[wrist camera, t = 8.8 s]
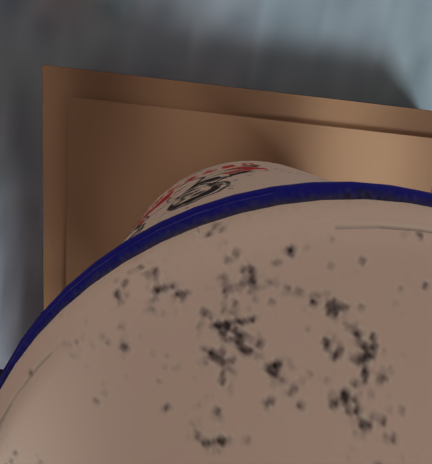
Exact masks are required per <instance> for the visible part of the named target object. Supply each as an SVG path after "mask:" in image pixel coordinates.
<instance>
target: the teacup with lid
mask: <svg viewBox="0 0 432 464" xmlns="http://www.w3.org/2000/svg"><path fill="white" fill-rule="evenodd" d="M0 464H432V193H430V192H425V191H420V190H415V189H409V188H404V187H399V186H394V185H387V184H375V183H363V182H352V181H349V182H333V181H330V180H327V179H324V178H321V177H318V176H315V175H312V174H309V173H306V172H303V171H300V170H298V169H295V168H291V167H288V166H285V165H281V164H276V163H271V162H263V161H237V162H228V163H224V164H219V165H215V166H212V167H209V168H206V169H203V170H200V171H198V172H196V173H193V174H191V175H189V176H187V177H186V178H184V179H182V180H180V181H179V182H177V183H176V184H174V185H173V186H172V187H170V188H169V189H168V190H166V191H165V192H164V193H163V194H162V195H161V196H159V197H158V199H157V200H156V201H155V202H154V203H153V204H152V205H151V206H150V207H149V208H148V210H147V211H146V212H145V214H144V215H143V216H142V218H141V219H140V220H139V221H138V223H137V224H136V225H135V227H134V228H133V229H132V230H131V232H130V233H129V234H128V236H127V237H126V238H125V240H124V241H123V242H122V243H121V244H120V245H119V246H117V247H116V248H114V249H113V250H112V251H110V252H109V253H107V254H106V255H104V256H103V257H101V258H100V259H98V260H97V261H96V262H94V263H93V264H92V265H91V266H90V267H88V268H87V269H86V270H85V271H84V272H83V273H81V274H80V275H79V276H78V277H77V278H76V279H74V280H73V281H72V282H71V283H70V284H69V285H67V286H66V287H65V288H64V290H63V291H62V292H61V293H60V294H59V295H58V296H57V297H56V298H55V299H54V300H53V301H52V302H51V303H50V304H49V305H48V306H47V308H46V309H45V310H44V311H43V312H42V313H41V314H40V316H39V317H38V318H37V320H36V321H35V322H34V323H33V325H32V326H31V327H30V329H29V330H28V331H27V333H26V334H25V335H24V337H23V338H22V339H21V341H20V343H19V344H18V346H17V348H16V349H15V351H14V353H13V355H12V356H11V358H10V360H9V361H8V363H7V365H6V366H5V368H4V370H3V372H2V374H1V377H0Z"/></svg>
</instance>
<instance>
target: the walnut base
mask: <svg viewBox="0 0 432 464" xmlns="http://www.w3.org/2000/svg"><path fill="white" fill-rule="evenodd" d="M42 101H43V283H44V310H45V309H46V308H47V306H48V305H49V304H50V303H51V302H52V301H53V300H54V299H55V298H56V297H57V296H58V295H59V294H60V293H61V292H62V291H63V290H64V288H65V287H66V286H67V285H69V284H70V283H71V282H72V281H73V280H74V279H76V278H77V277H78V276H79V275H80V274H81V273H83V272H84V271H85V270H86V269H87V268H88V267H90V266H91V265H92V264H93V263H94V262H96V261H97V260H98V259H100V258H101V257H103V256H104V255H106V254H107V253H109V252H110V251H112V250H113V249H114V248H116V247H117V246H119V245H120V244H121V243H122V242H123V241H124V240H125V238H126V237H127V236H128V234H129V233H130V232H131V230H132V229H133V228H134V227H135V225H136V224H137V223H138V221H139V220H140V219H141V218H142V216H143V215H144V214H145V212H146V211H147V210H148V208H149V207H150V206H151V205H152V204H153V203H154V202H155V201H156V200H157V199H158V197H159V196H161V195H162V194H163V193H164V192H165V191H166V190H168V189H169V188H170V187H172V186H173V185H174V184H176V183H177V182H179V181H180V180H182V179H184V178H186V177H187V176H189V175H191V174H193V173H196V172H198V171H200V170H203V169H206V168H209V167H212V166H215V165H219V164H224V163H228V162H237V161H263V162H271V163H276V164H281V165H285V166H288V167H291V168H295V169H298V170H300V171H303V172H306V173H309V174H312V175H315V176H318V177H321V178H324V179H327V180H330V181H333V182H349V181H352V182H363V183H375V184H387V185H394V186H399V187H404V188H409V189H415V190H420V191H425V192H430V193H432V111H430V110H421V109H413V108H404V107H396V106H388V105H379V104H371V103H362V102H354V101H345V100H337V99H328V98H320V97H311V96H303V95H294V94H286V93H278V92H269V91H261V90H252V89H244V88H235V87H227V86H218V85H210V84H201V83H193V82H184V81H176V80H167V79H159V78H151V77H142V76H134V75H125V74H117V73H108V72H100V71H91V70H83V69H74V68H66V67H57V66H49V65H42Z"/></svg>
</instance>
